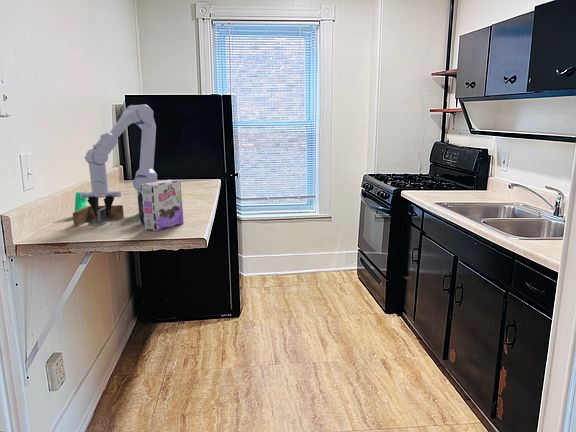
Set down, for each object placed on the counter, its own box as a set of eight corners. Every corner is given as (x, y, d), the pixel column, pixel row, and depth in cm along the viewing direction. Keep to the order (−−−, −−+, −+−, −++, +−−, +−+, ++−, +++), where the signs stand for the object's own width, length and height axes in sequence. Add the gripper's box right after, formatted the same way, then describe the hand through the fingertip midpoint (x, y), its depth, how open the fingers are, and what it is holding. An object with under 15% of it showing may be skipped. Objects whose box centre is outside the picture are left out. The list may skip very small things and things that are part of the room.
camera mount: (95, 218, 180) (92, 193, 178) (75, 219, 179) (72, 194, 177) (102, 212, 192) (99, 189, 189) (83, 213, 190) (80, 189, 188)
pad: (102, 224, 168) (102, 224, 167) (87, 225, 167) (87, 224, 167) (109, 219, 176) (109, 219, 176) (95, 220, 176) (95, 219, 176)
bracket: (101, 224, 168) (100, 211, 167) (88, 224, 167) (86, 211, 166) (108, 219, 176) (107, 207, 174) (96, 219, 175) (94, 207, 174)
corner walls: (124, 217, 179) (122, 204, 178) (112, 225, 166) (111, 211, 165) (88, 218, 179) (86, 206, 177) (74, 227, 165) (72, 213, 164)
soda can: (139, 222, 170) (136, 191, 168) (157, 220, 173) (155, 189, 170) (141, 226, 164) (138, 193, 161) (160, 224, 167) (157, 192, 164)
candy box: (155, 231, 155) (151, 184, 151) (144, 230, 158) (139, 183, 154) (184, 223, 166) (181, 179, 163) (173, 222, 169) (169, 179, 166)
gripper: (75, 182, 164) (79, 219, 167) (115, 181, 165) (119, 217, 168) (82, 180, 171) (86, 215, 174) (121, 179, 172) (124, 213, 175)
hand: (103, 216), depth 171 cm, fingers open, 3 cm apart
